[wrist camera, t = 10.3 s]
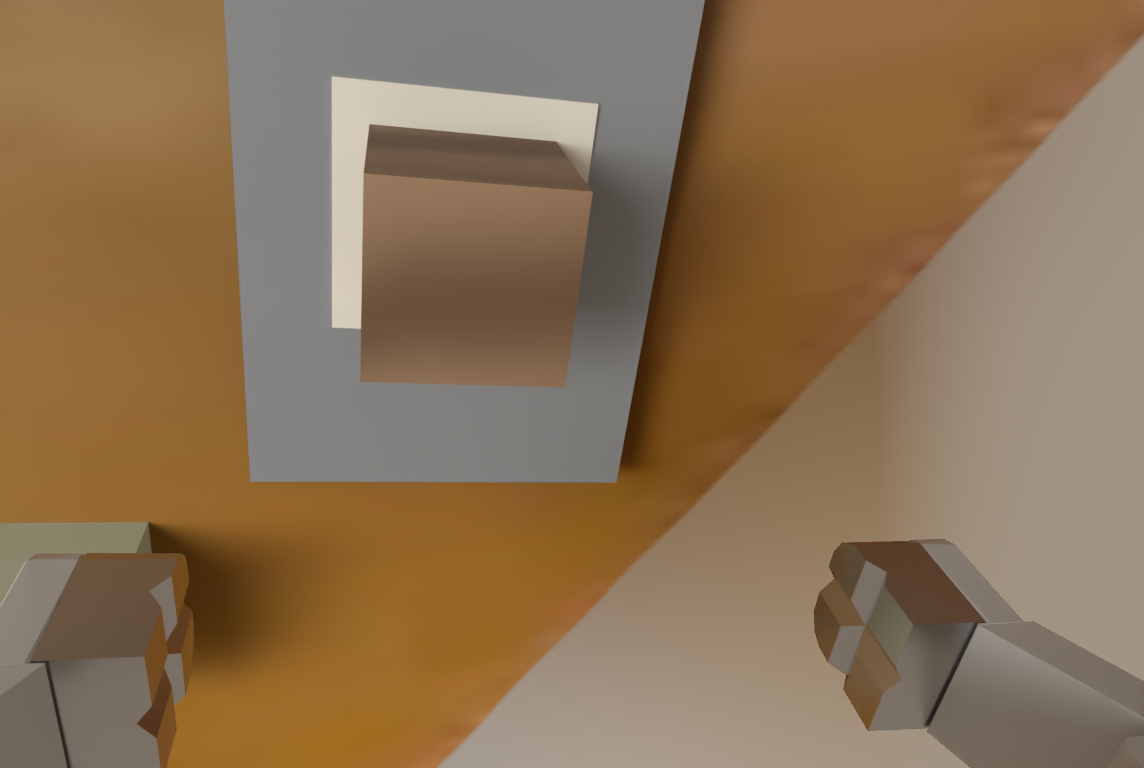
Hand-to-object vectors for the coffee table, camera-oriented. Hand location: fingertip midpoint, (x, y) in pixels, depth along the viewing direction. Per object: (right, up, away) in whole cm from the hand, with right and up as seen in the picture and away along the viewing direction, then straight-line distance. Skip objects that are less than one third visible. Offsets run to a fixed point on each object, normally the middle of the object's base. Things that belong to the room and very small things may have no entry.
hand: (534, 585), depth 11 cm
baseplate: (-3, +8, +14) cm, 17 cm away
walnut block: (-3, +7, +13) cm, 15 cm away
